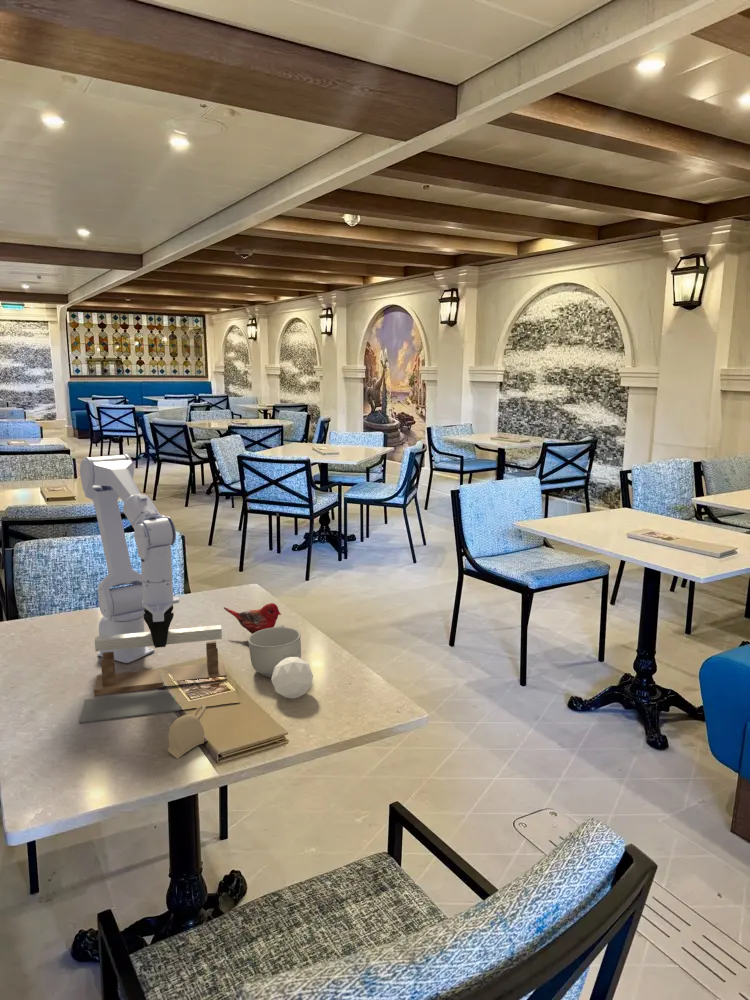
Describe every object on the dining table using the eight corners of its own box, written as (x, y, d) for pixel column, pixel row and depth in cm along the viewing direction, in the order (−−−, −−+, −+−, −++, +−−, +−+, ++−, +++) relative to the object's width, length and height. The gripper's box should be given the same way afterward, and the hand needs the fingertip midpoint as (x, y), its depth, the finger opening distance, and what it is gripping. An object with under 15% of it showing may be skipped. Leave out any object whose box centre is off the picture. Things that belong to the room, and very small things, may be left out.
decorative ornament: (160, 751, 113) (158, 721, 112) (200, 730, 120) (199, 702, 119) (176, 759, 111) (175, 728, 110) (216, 738, 118) (215, 708, 117)
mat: (79, 723, 122) (79, 722, 122) (84, 701, 130) (84, 699, 130) (240, 703, 130) (240, 701, 130) (235, 683, 138) (235, 681, 138)
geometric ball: (303, 707, 134) (327, 680, 132) (272, 706, 129) (295, 677, 126) (289, 677, 139) (311, 650, 137) (257, 674, 133) (280, 646, 131)
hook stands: (94, 695, 133) (92, 664, 132) (97, 680, 139) (95, 651, 138) (226, 679, 140) (225, 650, 139) (223, 666, 147) (222, 638, 145)
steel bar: (95, 651, 134) (94, 640, 133) (96, 647, 136) (95, 636, 136) (221, 639, 141) (221, 628, 140) (220, 635, 143) (220, 625, 142)
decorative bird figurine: (277, 649, 156) (276, 606, 154) (219, 633, 165) (218, 593, 163) (285, 645, 158) (285, 603, 156) (228, 630, 167) (227, 590, 166)
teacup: (291, 684, 138) (291, 647, 137) (240, 679, 140) (239, 642, 139) (312, 657, 151) (311, 622, 150) (265, 653, 154) (264, 619, 152)
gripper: (179, 587, 130) (182, 655, 133) (177, 567, 144) (180, 629, 146) (139, 590, 128) (143, 659, 131) (141, 569, 142) (145, 632, 144)
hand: (160, 644), depth 138 cm, fingers closed on steel bar, 2 cm apart
